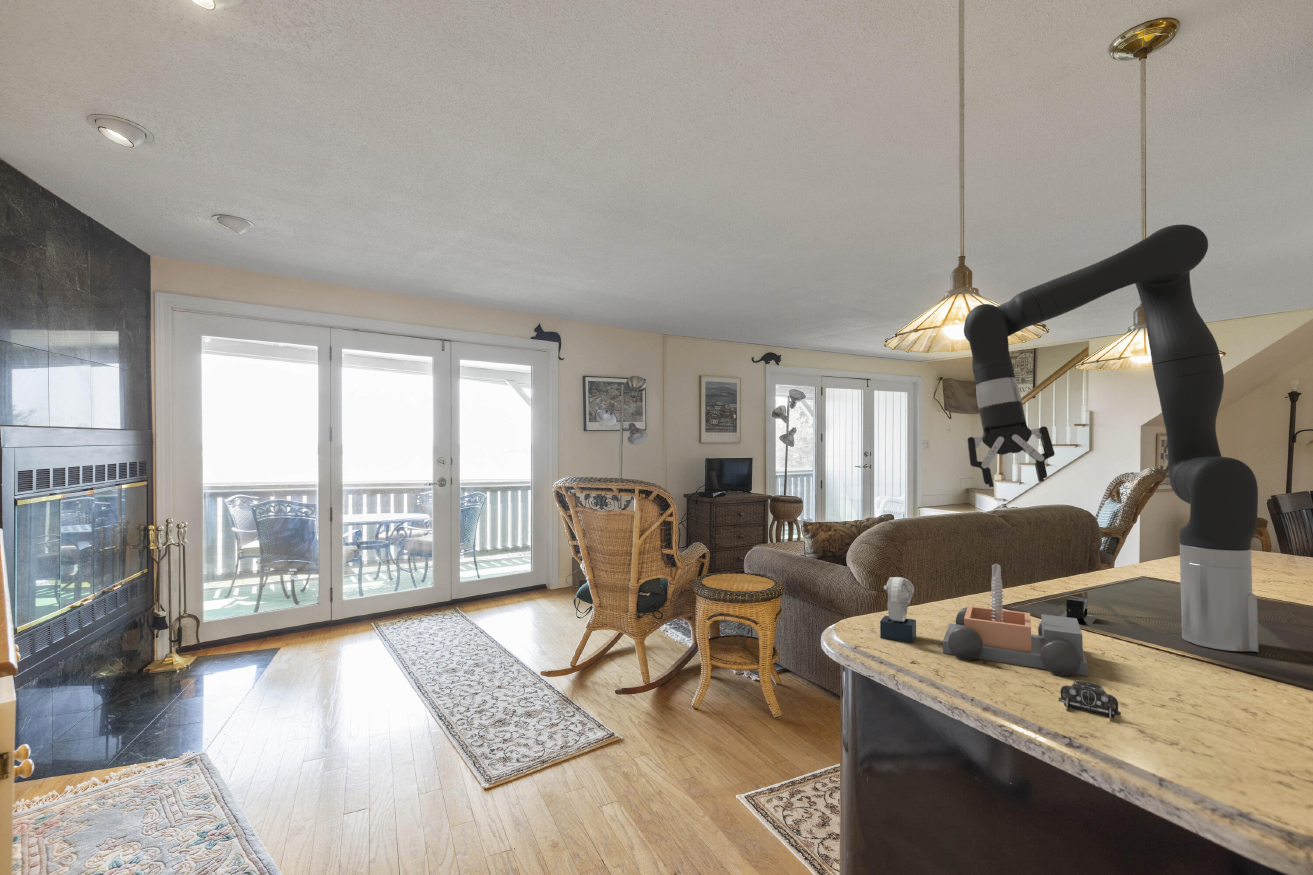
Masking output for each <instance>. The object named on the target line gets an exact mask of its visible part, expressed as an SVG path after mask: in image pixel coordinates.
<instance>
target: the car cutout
mask: <svg viewBox="0 0 1313 875" xmlns="http://www.w3.org/2000/svg"><path fill="white" fill-rule="evenodd" d="M1058 702H1060V703H1063V704H1064V707H1065V712H1067V711H1068V708H1071V709H1074V710H1078V711H1082V712H1087V713H1090V714H1095V715H1100V716H1104V717H1108V718H1109V721H1111V719H1112V718H1113V719H1115V717H1116V716H1121V715H1122V712H1121V711H1120V710H1119V702H1118V699H1117V698H1116V696H1114V695H1113V694H1111V693H1110V694H1109V693H1107V692H1106V691H1105V689H1104V687H1103V686H1102V685H1101V684H1098V683H1094V682H1090V681H1085V680H1078V679H1077V680H1074V682H1073V683H1072V684H1071V685H1063V686H1062V687H1060V697H1058Z"/></svg>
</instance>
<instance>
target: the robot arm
mask: <svg viewBox="0 0 1313 875" xmlns="http://www.w3.org/2000/svg"><path fill="white" fill-rule="evenodd" d="M1208 249H1209V240H1208V236H1207V235H1206V234H1205V232H1204V231H1202V230H1201V229H1200V228H1198V227H1196V226H1193V225H1190V224H1181V223H1180V224H1173V225H1169V226H1165V227H1163V228H1160V229H1158V230H1156V231H1155V232H1153V233H1152V234H1150V235H1148V236H1147V237H1145V238H1143V239H1142V240H1140V241H1138V242H1136V243H1135V244H1133V245H1131V246H1129V247H1127V248H1126V249H1123V250H1121V251H1120V252H1118V253H1116V254H1112V256H1109V257H1107V258H1105V259H1102V260H1100V261H1097V262H1096V263H1093V264H1090V265H1087V266H1086V267H1083V268H1081V269H1078V270H1075V271H1073V272H1070V273H1067V274H1064V275H1062V276H1059V277H1056V278H1054V279H1052V280H1049V281H1047V282H1044V283H1041V284H1038V285H1036V286H1033V287H1031V288H1028V289H1026V290H1024V291H1021V292H1019V293H1016V295H1015V296H1013V297H1012V299H1011V298H1010V300H1009V301H1007V302H1005V303H1002V304H1000V305H993V304H990V303H985V304H984V303H983V304H979V305H977V306H975V307H974V308H972V309H971V310H970V311H968V312H969V313H967V315H966V317H965V320H964V327H963V334H964V337H965V339H966V340H967V341H968V343H969V346H970V351H971V356H972V362H971V366H972V367H971V368H972V373H973V374H972V375H973V378H974V383H975V390H976V391H975V393H976V400H977V403H976V405H977V408H978V411H979V417H980V421H981V426H982V427H981V428H982V431H983V432H982V433H983V434H982V436H977V437H974V436H970V437H968V438H967V449H968V457H969V464H970V466H971V467H973V468H979V469H980V470H981V474H982V478H983V483H984V485H986V486H987V485H988V488H993V487H994V482H993V477H992V473H991V468H990V467H989V466H990V464H991V463H992V461H993V460H994V458H995V456H996V455H999V456H1003V455H1004V456H1005V455H1007V454H1018V453H1019V454H1020V452H1022V451H1023V452H1024V453H1025V455H1026V454H1027V455H1028V456H1029V457H1031V458H1032V459H1033V460H1034V467H1035V472H1036V476H1037V482H1040V483H1042V482H1044V481H1045V479H1046V478H1048V474H1047V473H1048V472H1047V468H1046V467H1047V466H1046V462H1045V461H1046V460H1048V459H1050V458H1052V457H1054V456H1055V450H1054V447H1053V446H1054V445H1053V442H1052V440H1051V436H1050V433H1049V429H1048V427H1047V426H1040V427H1038V428H1032V429H1030V428H1029V426H1028V425H1027V420H1026V415H1025V410H1024V405H1023V401H1022V396H1021V391H1020V387H1019V385H1018V382H1017V378H1016V376H1015V370H1014V364H1013V361H1012V358H1011V355H1010V348H1009V346H1010V345H1009V337H1010V336H1012V335H1014V334H1016V333H1018V332H1020V331H1022V330H1025V329H1026V328H1029V327H1031V326H1033V325H1034V326H1035V325H1037V324H1041V323H1043V322H1045V321H1048V320H1051V319H1054V318H1056V317H1058V316H1062V315H1064V314H1066V313H1069V312H1071V311H1073V310H1076V309H1078V308H1080V307H1083V306H1085V305H1087V304H1089V303H1091V302H1092V301H1093V302H1094V301H1095V300H1098V299H1100V298H1101V297H1104V296H1105V295H1108V294H1111V293H1113V292H1115V291H1117V290H1120V289H1123V288H1125V287H1128V286H1131V285H1134V284H1135V286H1136V290H1137V291H1138V292H1137V293H1138V296H1139V299H1140V301H1141V305H1142V308H1143V312H1144V316H1145V322H1146V323H1145V324H1146V330H1147V332H1146V333H1147V338H1148V340H1147V341H1148V345H1149V350H1150V356H1151V364H1152V365H1151V366H1152V370H1153V376H1154V381H1155V385H1156V390H1157V394H1158V399H1159V403H1160V410H1161V413H1162V418H1163V423H1164V427H1165V434H1166V442H1167V458H1168V459H1167V460H1168V462H1167V463H1168V478H1169V484H1170V486H1171V489H1172V491H1173V492H1174V494H1175V495H1176V496H1177V497H1178V499H1180V500H1182V501H1183V502H1184V503H1187V504H1190V509H1189V510H1190V511H1189V515H1190V516H1189V520H1188V522H1187V524H1186V525H1185V526H1183V527H1182V528H1181V529H1180V530H1179V533H1178V534H1179V535H1178V536H1179V568H1180V569H1179V570H1180V572H1179V573H1180V576H1179V577H1180V604H1181V605H1180V606H1181V608H1180V609H1181V612H1180V613H1181V626H1180V627H1181V638H1182V639H1183V640H1185V641H1186V642H1189V643H1191V644H1194V645H1197V646H1201V647H1206V648H1211V649H1215V650H1221V651H1229V652H1230V651H1231V652H1254V653H1259V651H1260V650H1259V620H1258V618H1259V617H1258V597H1257V595H1256V594H1254V593H1253V575H1252V572H1253V571H1252V570H1253V568H1252V540H1253V538H1254V536H1255V534H1256V532H1257V528H1258V511H1259V510H1258V509H1259V508H1258V507H1259V506H1258V505H1259V489H1258V488H1259V487H1258V481H1257V479H1256V474H1254V472H1253V470H1252V469H1251V468H1250V466H1249V465H1247V464H1246V463H1245V462H1243V461H1241V460H1239V459H1236V458H1234V457H1233V458H1232V457H1229V456H1228V457H1227V456H1222V453H1221V450H1220V446H1219V442H1218V436H1217V430H1216V428H1217V427H1216V425H1217V417H1218V412H1219V408H1220V405H1221V401H1222V397H1223V394H1224V393H1223V392H1224V389H1225V388H1224V387H1225V386H1224V385H1225V379H1224V378H1225V377H1224V370H1223V363H1222V360H1221V355H1220V351H1219V346H1218V344H1217V341H1216V339H1215V337H1214V335H1213V334H1212V332H1211V330H1210V329H1209V327H1208V325H1207V324H1206V323H1205V322H1206V321H1204V319H1203V318H1202V316H1201V315H1200V313H1199V312H1198V309H1197V307H1196V306H1195V302H1194V298H1193V292H1192V286H1191V277H1190V276H1191V274H1190V273H1191V271H1192V270H1194V269H1195V268H1196V267H1198V265H1199V264H1201V262H1202V261H1203V260H1204V258H1205V256H1206V255H1207V253H1208ZM1032 436H1034V437H1035V438H1036V439H1037V440H1040V442H1041V445H1042V449H1043V453H1041V452H1039V451H1038V450H1036V449H1035V448H1034V446H1032V445H1031V444H1029V443H1028V442H1029V440H1030V439H1031V437H1032ZM981 443H983V444H984V445H986V446H987V447H988V448H989V450H988V452H987V454H986V455H985V457H984V458H983V460H982V461H979V460H978V457H977V449H978V448H979V447H980V445H981Z"/></svg>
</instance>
